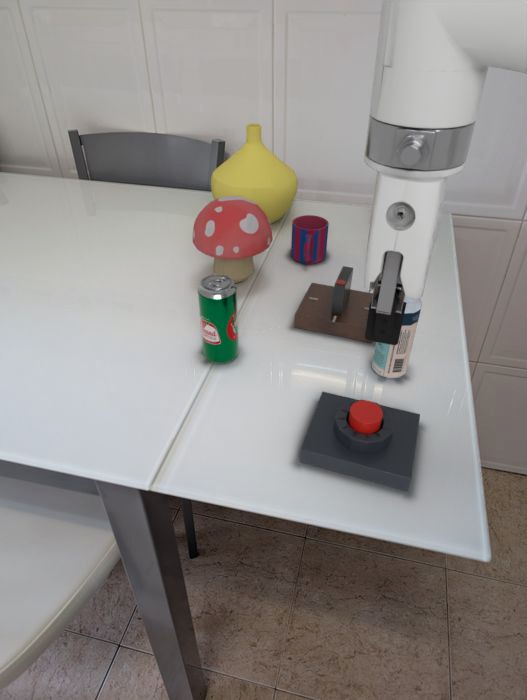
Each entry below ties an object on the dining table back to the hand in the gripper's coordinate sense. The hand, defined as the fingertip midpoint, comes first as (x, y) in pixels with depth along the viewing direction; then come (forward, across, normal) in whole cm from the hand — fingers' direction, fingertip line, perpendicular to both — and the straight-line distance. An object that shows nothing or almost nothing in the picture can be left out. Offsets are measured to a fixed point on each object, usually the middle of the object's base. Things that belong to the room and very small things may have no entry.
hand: (382, 337), depth 49 cm
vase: (+15, +57, +34) cm, 68 cm away
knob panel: (+16, +25, +8) cm, 31 cm away
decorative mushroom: (+16, +30, +28) cm, 44 cm away
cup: (+16, +42, +18) cm, 48 cm away
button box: (+16, 0, 0) cm, 16 cm away
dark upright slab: (+13, +25, +8) cm, 29 cm away
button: (+12, 0, 0) cm, 12 cm away
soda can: (+16, +10, +22) cm, 29 cm away
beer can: (+16, +15, -1) cm, 22 cm away
